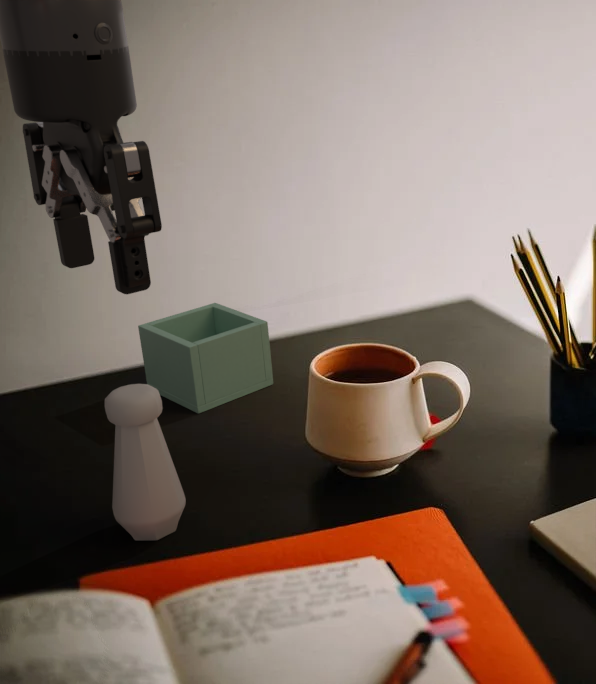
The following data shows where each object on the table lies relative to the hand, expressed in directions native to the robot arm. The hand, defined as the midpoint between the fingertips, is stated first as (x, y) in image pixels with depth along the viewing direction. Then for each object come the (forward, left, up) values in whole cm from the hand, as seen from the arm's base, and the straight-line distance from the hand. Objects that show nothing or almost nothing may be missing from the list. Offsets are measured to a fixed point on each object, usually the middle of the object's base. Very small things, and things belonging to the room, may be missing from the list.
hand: (105, 277), depth 65 cm
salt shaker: (+2, +3, -24) cm, 24 cm away
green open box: (+22, +24, -24) cm, 41 cm away
